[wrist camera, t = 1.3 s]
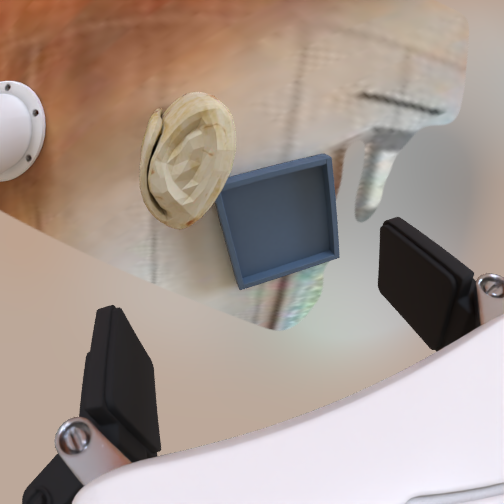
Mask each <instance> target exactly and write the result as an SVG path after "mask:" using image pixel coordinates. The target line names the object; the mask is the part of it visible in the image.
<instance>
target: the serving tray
mask: <svg viewBox="0 0 504 504" xmlns="http://www.w3.org/2000/svg"><path fill="white" fill-rule="evenodd" d="M215 204H216V208H217V212H218V216H219V220H220V223H221V227H222V231H223V234H224V238H225V242H226V245H227V249H228V253H229V256H230V260H231V264H232V267H233V271H234V275H235V278H236V282H237V284H238V287H239V289H240V290H242V289H245V288H249V287H252V286H255V285H258V284H261V283H264V282H267V281H271V280H274V279H277V278H280V277H283V276H286V275H289V274H292V273H295V272H298V271H301V270H304V269H307V268H310V267H313V266H316V265H319V264H322V263H325V262H328V261H331V260H334V259H337V258H339V241H338V226H337V212H336V199H335V188H334V177H333V168H332V158H331V157H330V156H328V155H326V154H320V155H315V156H311V157H307V158H302V159H298V160H294V161H290V162H286V163H282V164H278V165H274V166H270V167H266V168H262V169H258V170H254V171H250V172H247V173H243V174H239V175H236V176H232V177H228V178H227V181H226V183H225V185H224V187H223V189H222V191H221V192H220V194H219V195H218V197H217V198H216V200H215Z"/></svg>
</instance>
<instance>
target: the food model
mask: <svg viewBox="0 0 504 504" xmlns="http://www.w3.org/2000/svg"><path fill="white" fill-rule="evenodd" d="M235 152H236V130H235V125H234V120H233V117H232V115H231V113H230V111H229V109H228V108H227V107H226V106H225V105H224V104H223V103H222V102H221V101H219V100H218V99H217V98H216V97H215V96H213V95H210V94H207V93H202V92H193V93H188V94H185V95H183V96H181V97H180V98H178V99H177V100H176V101H175V102H173V103H172V104H171V105H170V106H169V107H168V109H167V110H166V111H165V112H164V114H163V115H162V109H161V108H159V109H157V110H156V111H155V112H154V113H153V114H152V116H151V117H150V120H149V122H148V126H147V129H146V132H145V135H144V138H143V142H142V146H141V162H140V167H139V177H140V190H141V194H142V197H143V201H144V203H145V205H146V206H147V208H148V210H149V211H150V213H151V214H152V215H153V216H154V217H155V218H156V219H157V220H159V221H160V222H162V223H164V224H166V225H167V226H169V227H172V228H175V229H178V230H181V229H184V228H187V227H189V226H191V225H192V224H194V223H195V222H196V221H198V220H199V219H200V218H201V217H202V216H203V215H204V214H205V213H206V212H207V211H208V209H209V208H210V207H211V206H212V205H213V203H214V202H215V200H216V198H217V197H218V195H219V194H220V192H221V191H222V189H223V187H224V185H225V183H226V181H227V178H228V176H229V174H230V172H231V170H232V165H233V161H234V156H235Z"/></svg>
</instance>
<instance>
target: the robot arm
mask: <svg viewBox="0 0 504 504" xmlns="http://www.w3.org/2000/svg"><path fill="white" fill-rule="evenodd" d="M10 86H11V88H10V89H9V87H10ZM37 110H38V112H39V114H37V113H36V112H37ZM45 128H46V124H45V114H44V110H43V107H42V104H41V102H40V100H39V98H38V97H37V95H36V94H35V92H34V91H32V90H31V89H30V88H29V87H28V86H26V85H24V84H22V83H20V82H16V81H3V82H0V181H1V182H2V181H9V180H11V179H14V178H16V177H18V176H19V175H21V174H23V173H24V172H25V171H26V170H28V169H29V168H30V166H31V165H32V164H33V163H34V162H35V160H36V158H37V157H38V155H39V153H40V151H41V148H42V146H43V142H44V137H45ZM30 155H31V158H30ZM379 254H380V255H379V276H378V288H379V290H380V293H381V294H382V295H383V296H384V297H385V298H386V299H387V300H388V301H389V302H390V303H391V305H392V306H393V307H394V308H395V309H396V310H397V311H398V312H399V314H400V315H401V316H402V317H403V318H404V319H405V320H406V321H407V322H408V324H409V325H410V326H411V327H412V328H413V329H414V330H415V332H416V333H417V334H418V335H419V336H420V337H421V338H422V339H423V341H424V342H425V343H426V344H427V345H428V346H429V348H430V349H432V350H436V351H437V352H436V353H434V354H432V355H430V356H428V357H427V358H425V359H423V360H421V361H419V362H417V363H416V364H414V365H412V366H410V367H408V368H406V369H404V370H402V371H400V372H398V373H396V374H394V375H392V376H390V377H388V378H386V379H385V380H382V381H380V382H378V383H376V384H374V385H372V386H370V387H367V388H365V389H363V390H361V391H359V392H356V393H354V394H352V395H350V396H347V397H345V398H343V399H340V400H338V401H336V402H333V403H331V404H329V405H326V406H323V407H321V408H318V409H316V410H313V411H311V412H308V413H305V414H303V415H300V416H297V417H295V418H292V419H289V420H286V421H284V422H281V423H278V424H275V425H272V426H269V427H266V428H263V429H260V430H256V431H253V432H250V433H247V434H243V435H240V436H237V437H233V438H229V439H226V440H222V441H218V442H214V443H211V444H207V445H203V446H199V447H196V448H191V449H187V450H183V451H179V452H174V453H170V454H165V455H161V456H157V452H158V451H160V450H161V443H160V436H159V435H160V434H159V425H158V415H157V406H156V405H157V404H156V393H155V381H154V380H155V379H154V367H153V364H152V361H151V359H150V357H149V356H148V354H147V353H146V351H145V349H144V347H143V346H142V344H141V343H140V341H139V339H138V337H137V336H136V334H135V332H134V330H133V329H132V327H131V325H130V323H129V321H128V320H127V318H126V316H125V314H124V313H123V311H122V309H121V308H116V307H115V306H114V305H111V306H107V307H104V308H101V309H98V310H97V313H96V319H95V325H94V330H93V336H92V343H91V350H90V352H89V353H87V356H86V362H85V369H84V376H83V384H82V393H81V403H80V414H79V417H74V418H71V419H68V420H67V421H66V422H64V423H63V424H62V425H61V426H60V428H59V429H58V431H57V433H56V436H55V448H56V450H57V452H58V454H57V455H56V456H55V457H54V458H53V459H52V461H51V462H50V463H49V464H48V465H47V466H46V467H45V468H44V469H43V470H42V472H41V473H40V474H39V475H38V476H37V477H36V478H35V479H34V480H33V481H32V483H31V484H30V485H29V486H28V487H27V489H26V490H25V492H24V494H23V499H22V504H504V277H502V276H500V275H497V274H492V273H486V274H483V275H481V276H480V277H478V279H477V280H476V281H475V280H474V279H473V276H474V272H473V271H471V270H470V269H469V268H468V267H466V266H465V265H464V264H463V263H461V262H460V261H459V260H457V259H456V258H455V257H454V256H452V255H451V254H450V253H448V252H447V251H446V250H444V249H443V248H442V247H440V246H439V245H438V244H436V243H435V242H434V241H432V240H431V239H429V238H428V237H427V236H426V235H424V234H422V233H421V232H420V231H419V230H417V229H416V228H414V227H413V226H412V225H410V224H408V223H407V222H406V221H404V220H403V219H401V218H400V217H396V218H393V219H389V220H386V221H385V222H384V223H383V226H382V227H381V228H380V253H379Z"/></svg>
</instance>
